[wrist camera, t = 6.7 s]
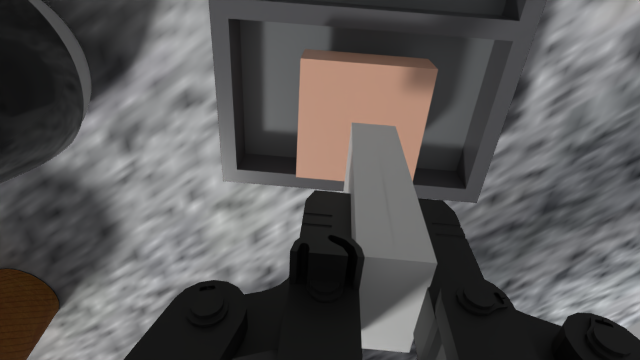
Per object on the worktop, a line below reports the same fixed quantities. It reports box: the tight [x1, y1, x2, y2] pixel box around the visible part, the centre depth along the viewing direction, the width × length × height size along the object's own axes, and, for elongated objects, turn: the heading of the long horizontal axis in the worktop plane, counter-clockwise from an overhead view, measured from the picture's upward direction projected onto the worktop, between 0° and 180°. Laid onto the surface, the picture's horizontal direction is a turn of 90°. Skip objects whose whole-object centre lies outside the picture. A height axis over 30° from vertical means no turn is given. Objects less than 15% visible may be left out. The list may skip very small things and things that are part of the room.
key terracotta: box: [296, 49, 438, 182], centre depth 17 cm, size 6×6×2 cm
